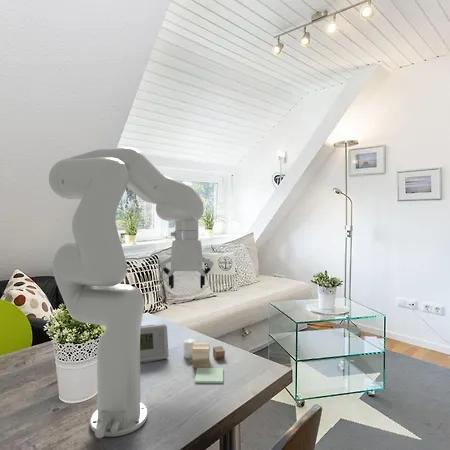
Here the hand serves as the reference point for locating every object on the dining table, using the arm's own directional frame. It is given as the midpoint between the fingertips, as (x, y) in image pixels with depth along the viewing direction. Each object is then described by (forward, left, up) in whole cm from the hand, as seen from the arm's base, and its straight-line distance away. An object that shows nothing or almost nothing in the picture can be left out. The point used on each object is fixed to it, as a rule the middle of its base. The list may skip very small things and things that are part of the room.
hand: (186, 287), depth 113 cm
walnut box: (0, -10, -23) cm, 26 cm away
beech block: (-5, -5, -23) cm, 24 cm away
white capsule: (+1, -1, -23) cm, 23 cm away
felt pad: (-13, -8, -23) cm, 28 cm away
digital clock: (-2, +14, -24) cm, 27 cm away
